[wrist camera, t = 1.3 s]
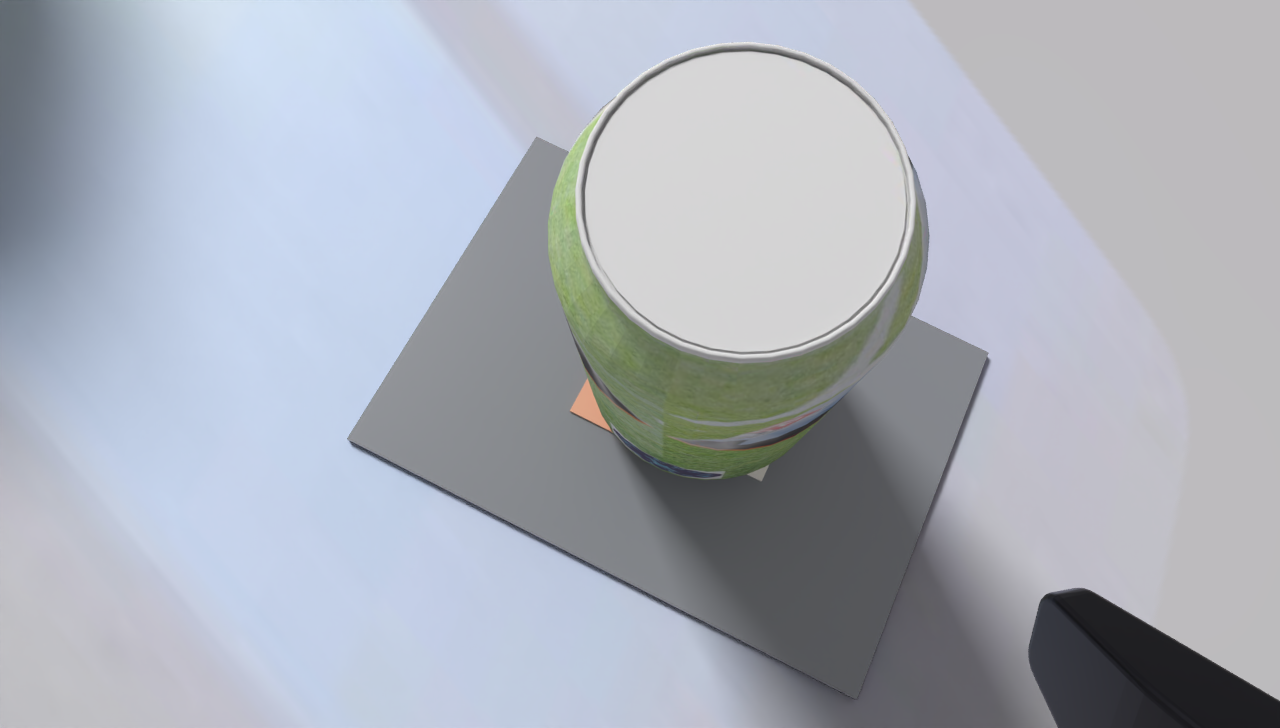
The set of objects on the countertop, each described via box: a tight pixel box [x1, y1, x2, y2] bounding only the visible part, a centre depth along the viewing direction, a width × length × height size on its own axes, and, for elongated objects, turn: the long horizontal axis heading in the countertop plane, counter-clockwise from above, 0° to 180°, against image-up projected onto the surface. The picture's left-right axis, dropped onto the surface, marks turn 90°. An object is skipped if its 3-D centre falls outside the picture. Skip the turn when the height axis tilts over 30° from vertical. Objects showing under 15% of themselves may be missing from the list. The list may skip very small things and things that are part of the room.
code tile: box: [347, 137, 988, 699], centre depth 25 cm, size 14×10×1 cm
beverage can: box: [548, 42, 929, 480], centre depth 19 cm, size 6×7×12 cm
